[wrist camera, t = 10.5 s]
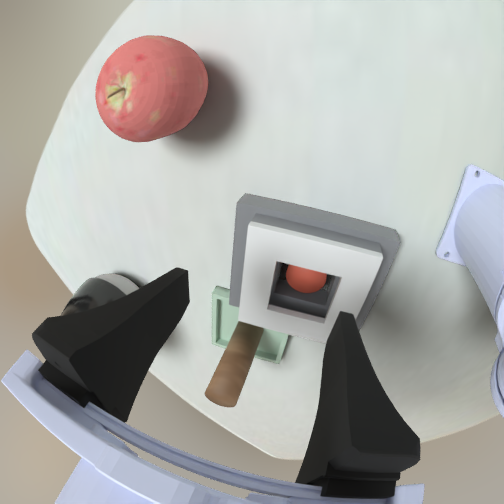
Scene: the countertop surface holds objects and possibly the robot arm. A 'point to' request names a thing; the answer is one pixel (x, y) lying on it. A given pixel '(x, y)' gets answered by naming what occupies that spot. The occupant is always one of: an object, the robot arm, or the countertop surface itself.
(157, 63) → the apple
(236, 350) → the brown wooden cylinder
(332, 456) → the robot arm
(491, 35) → the countertop surface
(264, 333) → the rest tray
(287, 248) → the box
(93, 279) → the pump dispenser
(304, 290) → the button
